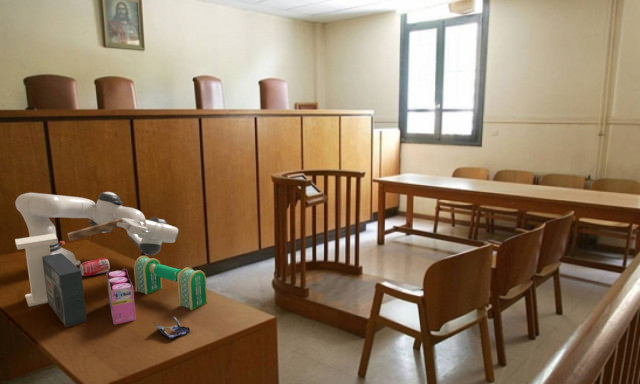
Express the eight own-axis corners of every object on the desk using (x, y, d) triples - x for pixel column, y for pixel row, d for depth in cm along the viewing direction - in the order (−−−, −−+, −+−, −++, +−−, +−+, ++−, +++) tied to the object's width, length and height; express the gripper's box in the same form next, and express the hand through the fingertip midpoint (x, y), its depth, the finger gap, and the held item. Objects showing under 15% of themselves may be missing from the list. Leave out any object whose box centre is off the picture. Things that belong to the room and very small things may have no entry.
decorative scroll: (207, 302, 184) (205, 267, 182) (191, 310, 178) (188, 274, 175) (152, 285, 204) (149, 253, 201) (135, 291, 197) (132, 258, 194)
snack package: (185, 323, 168) (152, 329, 162) (185, 308, 166) (151, 314, 160) (192, 342, 158) (157, 350, 152) (192, 326, 156) (156, 333, 150)
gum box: (108, 301, 186) (105, 270, 184) (129, 297, 190) (126, 267, 188) (113, 325, 166) (110, 290, 163) (136, 320, 169) (133, 286, 167)
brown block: (121, 224, 207) (120, 218, 206) (123, 225, 205) (121, 219, 204) (69, 239, 194) (67, 233, 193) (70, 241, 192) (68, 234, 191)
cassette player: (48, 303, 186) (42, 256, 182) (66, 298, 190) (61, 252, 187) (66, 327, 165) (59, 275, 161) (86, 321, 169) (81, 270, 166)
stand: (60, 289, 199) (53, 232, 195) (64, 298, 190) (57, 238, 185) (22, 297, 191) (14, 238, 186) (25, 307, 182) (17, 245, 177)
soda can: (105, 266, 226) (79, 272, 218) (105, 254, 223) (79, 260, 215) (110, 274, 221) (83, 280, 213) (110, 262, 218) (83, 268, 210)
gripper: (150, 240, 204) (119, 234, 195) (136, 231, 220) (107, 225, 211) (154, 226, 205) (123, 220, 196) (140, 218, 220) (111, 212, 212)
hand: (115, 222), depth 204 cm, fingers closed on brown block, 3 cm apart
